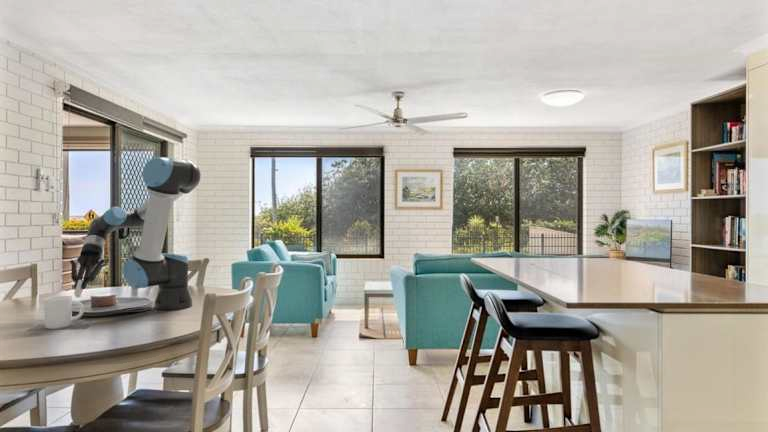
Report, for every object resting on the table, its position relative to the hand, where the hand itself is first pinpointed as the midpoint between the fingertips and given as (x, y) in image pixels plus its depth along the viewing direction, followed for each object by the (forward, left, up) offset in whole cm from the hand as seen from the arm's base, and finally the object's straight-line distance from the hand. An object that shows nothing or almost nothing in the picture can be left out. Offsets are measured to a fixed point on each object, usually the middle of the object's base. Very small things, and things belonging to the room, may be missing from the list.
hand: (77, 295), depth 185 cm
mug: (-1, +12, -9) cm, 15 cm away
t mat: (0, +11, -9) cm, 14 cm away
